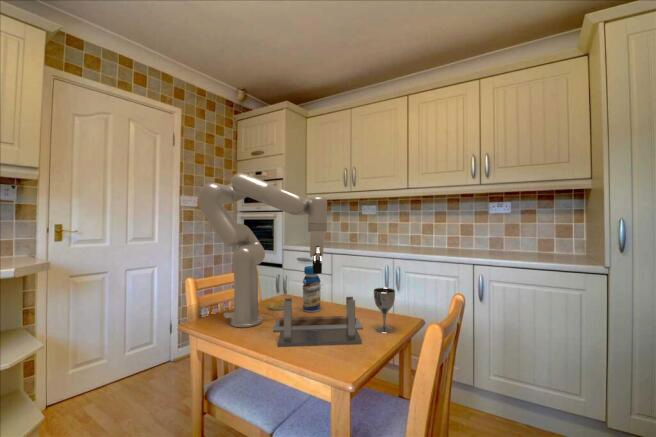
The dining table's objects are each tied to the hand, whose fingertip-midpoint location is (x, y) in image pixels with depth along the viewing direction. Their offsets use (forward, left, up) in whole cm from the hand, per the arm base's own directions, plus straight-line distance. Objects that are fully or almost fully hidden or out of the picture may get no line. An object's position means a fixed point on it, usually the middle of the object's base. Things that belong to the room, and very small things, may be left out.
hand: (317, 271), depth 120 cm
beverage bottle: (-2, +21, -22) cm, 30 cm away
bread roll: (-18, +26, -22) cm, 38 cm away
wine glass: (+25, -7, -22) cm, 34 cm away
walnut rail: (0, 0, -21) cm, 21 cm away
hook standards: (0, -14, -22) cm, 26 cm away
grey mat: (0, 0, -22) cm, 22 cm away
